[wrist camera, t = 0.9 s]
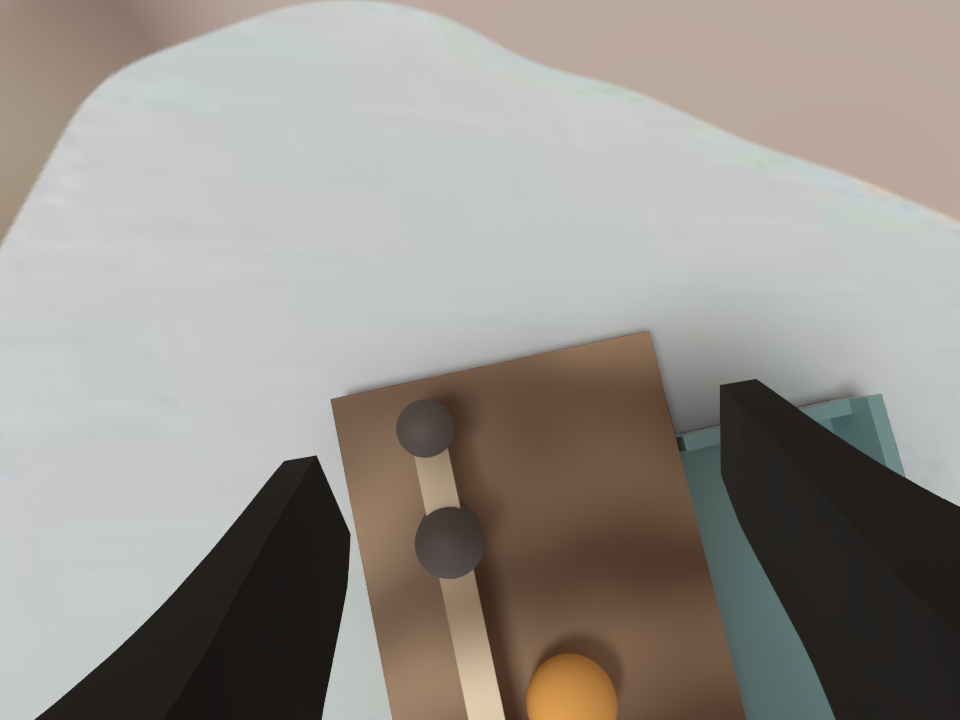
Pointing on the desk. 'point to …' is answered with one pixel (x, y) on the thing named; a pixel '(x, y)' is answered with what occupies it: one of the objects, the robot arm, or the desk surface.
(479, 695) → the lever
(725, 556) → the teal shallow crate
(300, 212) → the desk surface
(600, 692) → the ball
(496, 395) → the board
